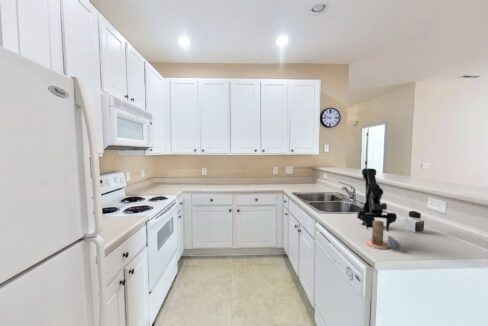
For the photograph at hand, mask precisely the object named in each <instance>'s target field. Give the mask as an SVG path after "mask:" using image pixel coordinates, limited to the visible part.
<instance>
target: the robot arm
mask: <svg viewBox="0 0 488 326" xmlns="http://www.w3.org/2000/svg"><path fill="white" fill-rule="evenodd" d="M361 175H362V178H363V180H364V181H365V184H364V186H365V202H364V203H363V206H362V208H361V209H359V210H357V214H356V217H357V219H359V221H362V223H360V224H361V225H362V226H365V227H366V229H367V230H369V228H371V227H372V228H373V221H375V220H376V218H377V219H378V218H379V219H385V220H386V222H385V226H386V232H389V229H390V225H391V224H393V223H395V222H396V221H397V218H398V217H397V214H396V213H395V212H387V213H386V214H384V213H383V212H384V211H385V210H387V208H388V207H387V206H388V205H387V203H384V202H383V203H381V201H382V200H381V199H382V197H383V194H384V190H383V189H382V188H381V187H380V185H379V184H378V182H377V178H376V176H377V169H375V168H367V167H366V168H365V167H364V168H363V169H361Z"/></svg>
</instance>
